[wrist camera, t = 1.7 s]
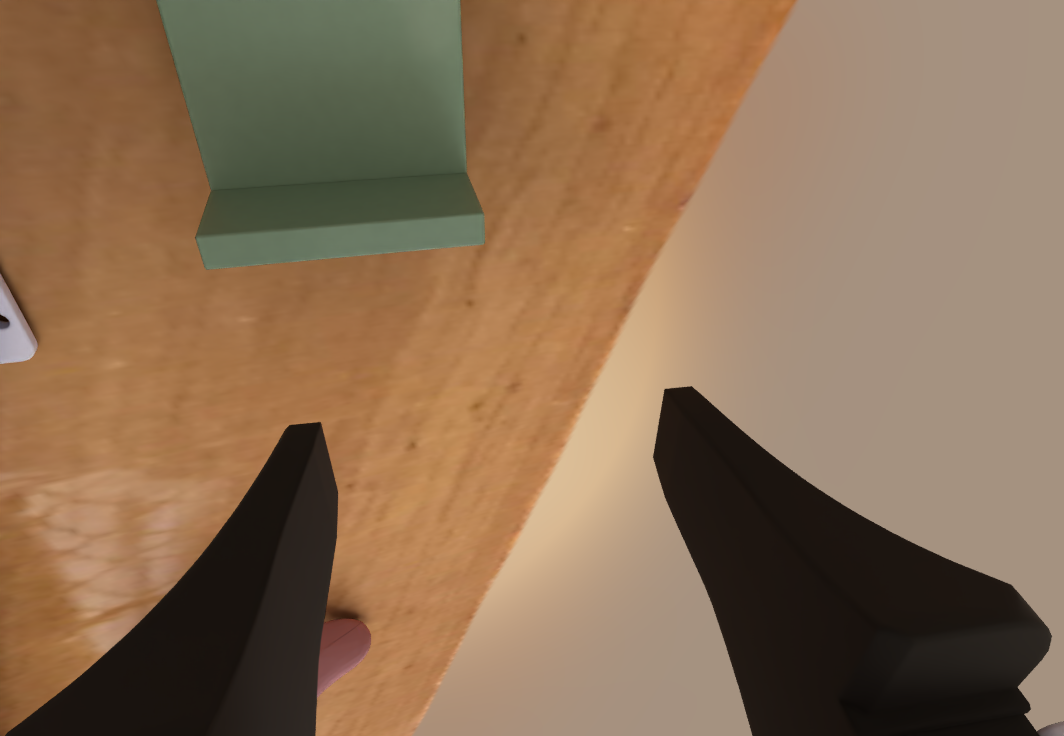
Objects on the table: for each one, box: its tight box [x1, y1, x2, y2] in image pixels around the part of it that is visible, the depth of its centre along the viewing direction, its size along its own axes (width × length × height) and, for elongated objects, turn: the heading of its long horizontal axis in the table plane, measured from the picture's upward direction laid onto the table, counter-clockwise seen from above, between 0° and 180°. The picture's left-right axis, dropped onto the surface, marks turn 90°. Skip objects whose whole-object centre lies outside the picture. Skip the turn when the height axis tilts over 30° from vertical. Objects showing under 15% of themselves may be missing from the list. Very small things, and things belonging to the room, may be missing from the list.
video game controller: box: [317, 619, 371, 697], centre depth 32 cm, size 10×5×7 cm, turn 147°
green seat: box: [156, 0, 485, 270], centre depth 15 cm, size 7×6×6 cm
